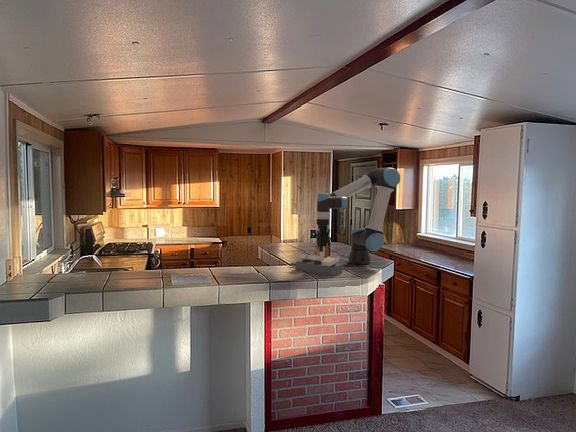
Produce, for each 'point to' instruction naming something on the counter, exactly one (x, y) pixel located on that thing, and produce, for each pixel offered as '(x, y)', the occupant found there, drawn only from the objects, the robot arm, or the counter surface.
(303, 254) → the rocker
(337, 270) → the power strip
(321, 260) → the rocker
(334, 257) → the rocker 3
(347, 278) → the counter surface
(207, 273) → the counter surface
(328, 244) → the canister
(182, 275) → the counter surface
